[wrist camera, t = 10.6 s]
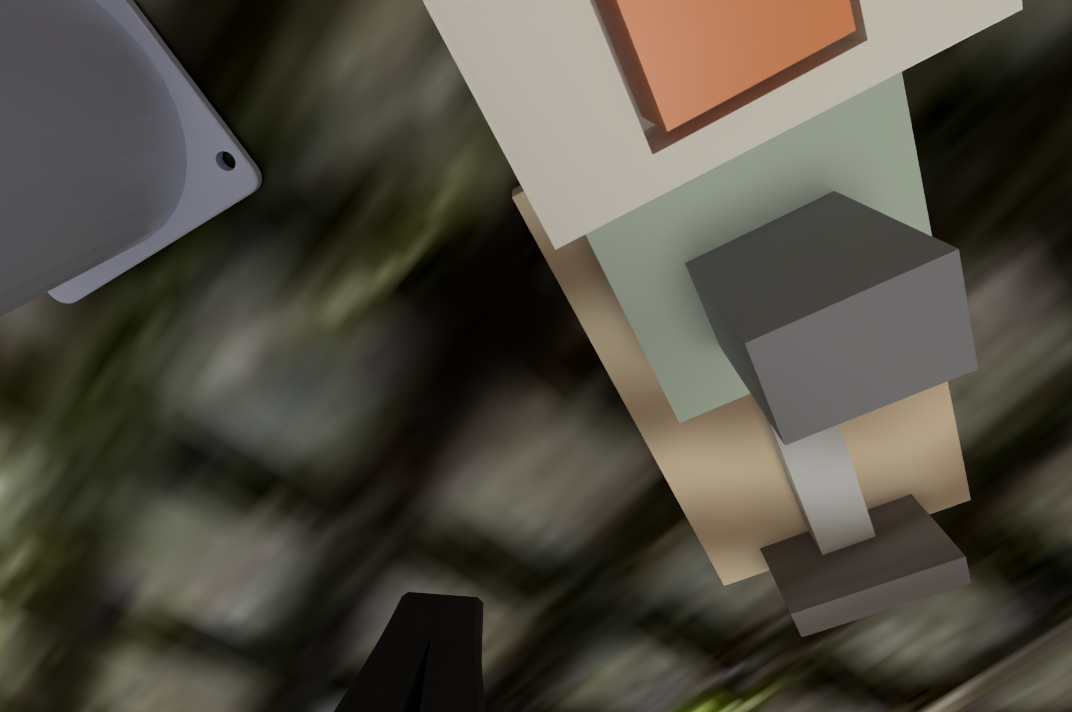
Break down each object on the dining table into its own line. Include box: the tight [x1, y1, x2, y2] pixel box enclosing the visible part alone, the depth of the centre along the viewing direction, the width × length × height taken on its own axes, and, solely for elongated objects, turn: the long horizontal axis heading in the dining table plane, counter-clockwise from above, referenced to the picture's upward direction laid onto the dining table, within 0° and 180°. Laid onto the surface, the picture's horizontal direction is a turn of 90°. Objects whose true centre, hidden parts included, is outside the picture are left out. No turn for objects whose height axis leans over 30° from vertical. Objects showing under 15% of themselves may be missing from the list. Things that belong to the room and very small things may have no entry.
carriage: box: [585, 72, 978, 445], centre depth 13 cm, size 6×7×7 cm
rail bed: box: [512, 185, 971, 637], centre depth 18 cm, size 19×10×4 cm, turn 28°
